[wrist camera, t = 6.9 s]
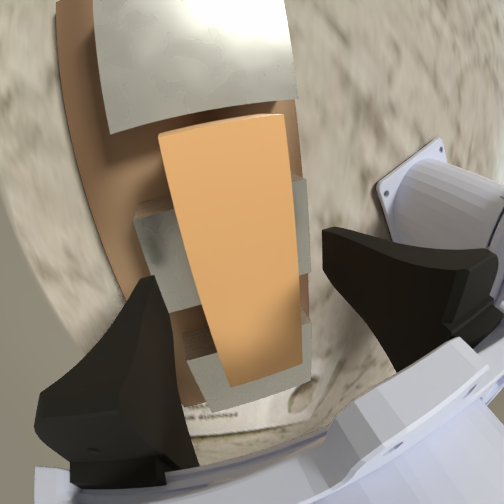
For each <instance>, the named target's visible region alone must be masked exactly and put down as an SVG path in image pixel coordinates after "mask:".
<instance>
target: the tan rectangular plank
mask: <svg viewBox="0 0 504 504" xmlns="http://www.w3.org/2000/svg"><path fill="white" fill-rule="evenodd" d="M158 140H159V145H160V150H161V154H162V159H163V163H164V167H165V172H166V176H167V180H168V185H169V189H170V193H171V197H172V201H173V205H174V209H175V213H176V217H177V220H178V224H179V228H180V232H181V235H182V239H183V243H184V246H185V250H186V253H187V257H188V260H189V264H190V267H191V271H192V274H193V277H194V281H195V284H196V287H197V291H198V294H199V297H200V300H201V304H202V307H203V310H204V313H205V316H206V319H207V322H208V325H209V328H210V331H211V334H212V337H213V340H214V343H215V346H216V349H217V352H218V355H219V358H220V361H221V363H222V366H223V369H224V372H225V375H226V377H227V380H228V383H229V385H230V388H232V387H235V386H239V385H242V384H245V383H248V382H251V381H255V380H258V379H261V378H264V377H267V376H270V375H273V374H275V373H278V372H281V371H284V370H287V369H289V368H292V367H295V366H297V365H300V364H303V357H302V327H301V304H300V285H299V269H298V254H297V240H296V227H295V215H294V203H293V192H292V182H291V172H290V163H289V153H288V144H287V136H286V128H285V119H284V114H254V115H247V116H241V117H235V118H229V119H223V120H218V121H212V122H207V123H202V124H197V125H193V126H188V127H184V128H180V129H175V130H171V131H167V132H163V133H159V136H158Z"/></svg>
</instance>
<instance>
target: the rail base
mask: <svg viewBox="0 0 504 504" xmlns="http://www.w3.org/2000/svg"><path fill="white" fill-rule="evenodd" d="M56 32H57V48H58V60H59V69H60V78H61V85H62V92H63V98H64V104H65V110H66V116H67V121H68V126H69V131H70V135H71V140H72V144H73V149H74V153H75V157H76V161H77V165H78V168H79V172H80V176H81V179H82V183H83V186H84V190H85V193H86V196H87V200H88V203H89V206H90V209H91V212H92V215H93V218H94V221H95V224H96V227H97V230H98V233H99V235H100V238H101V241H102V244H103V246H104V249H105V251H106V254H107V257H108V259H109V262H110V264H111V267H112V269H113V272H114V274H115V276H116V279H117V281H118V283H119V286H120V288H121V290H122V292H123V295H124V297H125V299H126V301H127V300H128V298H129V297H130V295H131V293H132V291H133V290H134V288H135V286H136V284H137V283H138V281H139V280H140V278H144V277H148V276H151V273H150V271H149V268H148V265H147V262H146V259H145V256H144V254H143V251H142V248H141V245H140V242H139V239H138V236H137V232H136V229H135V226H134V223H133V218H134V213H135V209H136V206H137V203H141V202H144V201H148V200H152V199H155V198H159V197H163V196H166V195H170V194H171V193H170V189H169V185H168V180H167V176H166V172H165V167H164V163H163V159H162V154H161V150H160V145H159V140H158V136H159V133H163V132H167V131H171V130H175V129H180V128H184V127H188V126H193V125H197V124H202V123H207V122H212V121H218V120H223V119H229V118H235V117H241V116H247V115H254V114H284V119H285V128H286V136H287V144H288V153H289V163H290V172H292V173H294V174H296V175H299V176H301V177H302V165H301V154H300V144H299V134H298V124H297V115H296V106H295V99H291V100H279V101H269V102H260V103H251V104H244V105H237V106H230V107H224V108H218V109H212V110H206V111H201V112H196V113H191V114H186V115H181V116H177V117H172V118H168V119H164V120H160V121H156V122H152V123H148V124H144V125H141V126H137V127H134V128H130V129H127V130H123V131H120V132H117V133H114V134H110V131H109V126H108V121H107V116H106V111H105V105H104V99H103V94H102V87H101V81H100V74H99V67H98V59H97V51H96V41H95V30H94V17H93V0H60V1H58V2H56ZM299 285H300V304H301V308H302V309H303V311H304V312H305V314H306V315H307V316H308V318H309V295H308V273H306V274H303V275H300V276H299ZM169 315H170V321H171V326H172V331H173V340H174V355H175V368H176V379H177V386H178V392H179V396H180V401H181V403H182V404H183V406H184V407H188V406H192V405H196V404H200V403H204V402H206V400H205V398H204V396H203V394H202V392H201V390H200V388H199V386H198V384H197V382H196V380H195V378H194V376H193V374H192V372H191V370H190V367H189V365H188V363H187V361H186V356H185V350H184V344H183V338H182V333H185V332H189V331H193V330H196V329H200V328H204V327H207V326H209V325H208V322H207V319H206V316H205V313H204V310H203V307H202V304H201V305H197V306H194V307H190V308H186V309H183V310H179V311H175V312H171V313H169Z"/></svg>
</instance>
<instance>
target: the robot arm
mask: <svg viewBox="0 0 504 504" xmlns="http://www.w3.org/2000/svg"><path fill="white" fill-rule="evenodd" d="M376 190H377V193H378V196H379V199H380V202H381V205H382V208H383V211H384V214H385V217H386V221H387V224H388V227H389V231H390V234H391V238H392V241H393V242H392V241H388V240H384V239H380V238H376V237H373V236H369V235H366V234H362V233H359V232H355V231H352V230H348V229H344V228H339V227H331V228H327V229H324V230H322V259H323V271H324V273H325V274H326V276H327V277H328V279H329V280H330V282H331V283H332V285H333V286H334V287H335V288H336V290H337V291H338V292H339V293H340V294H341V295H342V296H343V297H344V299H345V300H346V301H347V302H348V303H349V304H350V305H351V306H352V307H353V308H354V310H355V311H356V312H357V313H358V314H359V315H360V316H361V317H362V319H363V320H364V321H365V322H366V323H367V325H368V326H369V328H370V329H371V331H372V332H373V333H374V335H375V336H376V338H377V339H378V341H379V343H380V344H381V346H382V347H383V349H384V351H385V352H386V354H387V356H388V358H389V359H390V361H391V363H392V365H393V367H394V369H395V370H396V372H397V373H396V374H394V375H392V376H391V377H389V378H387V379H385V380H383V381H382V382H380V383H378V384H376V385H374V386H372V387H371V388H369V389H368V390H366V391H365V392H363V393H362V394H360V395H358V396H357V397H355V398H354V399H352V400H351V401H350V402H349V403H348V404H347V405H346V406H344V407H343V408H342V409H341V410H340V411H339V412H338V413H337V414H336V415H335V417H334V418H333V420H332V422H331V423H330V425H328V426H326V427H323V428H321V429H319V430H316V431H314V432H311V433H309V434H306V435H304V436H301V437H299V438H296V439H293V440H291V441H288V442H285V443H282V444H280V445H277V446H274V447H271V448H268V449H265V450H261V451H258V452H255V453H252V454H248V455H245V456H241V457H237V458H234V459H230V460H226V461H222V462H218V463H213V464H209V465H204V466H199V463H198V460H197V457H196V454H195V451H194V448H193V445H192V442H191V438H190V435H189V432H188V428H187V425H186V421H185V417H184V413H183V409H182V405H181V401H180V396H179V392H178V386H177V379H176V368H175V355H174V340H173V331H172V326H171V321H170V315H169V312H168V310H167V307H166V305H165V302H164V299H163V297H162V294H161V291H160V289H159V286H158V283H157V281H156V278H155V275H151V276H148V277H144V278H140V280H139V281H138V283H137V284H136V286H135V288H134V290H133V291H132V293H131V295H130V297H129V298H128V300H127V302H126V303H125V305H124V307H123V308H122V310H121V311H120V313H119V314H118V316H117V317H116V319H115V321H114V322H113V324H112V325H111V326H110V328H109V329H108V330H107V332H106V333H105V334H104V336H103V337H102V338H101V339H100V341H99V342H98V343H97V344H96V345H95V346H94V347H93V348H92V349H91V350H90V352H89V353H88V354H87V355H86V356H85V357H84V358H83V359H82V360H81V361H80V362H79V363H78V364H77V365H76V366H75V367H73V368H72V369H71V370H70V371H69V372H68V373H66V374H65V375H64V376H63V377H62V378H60V379H59V380H58V381H56V382H55V383H54V384H52V385H51V386H49V387H48V388H47V389H45V390H44V391H42V392H41V393H40V396H39V401H38V406H37V412H36V418H35V423H34V429H35V432H36V434H37V435H38V437H39V438H40V439H41V440H42V441H43V442H44V443H45V444H46V445H47V446H49V447H50V448H51V449H52V450H54V451H55V452H57V453H58V454H59V455H61V456H62V457H64V458H65V459H66V460H68V461H69V462H70V470H67V469H64V468H59V467H44V466H36V467H35V487H34V488H35V489H34V502H35V503H34V504H504V426H503V424H502V423H501V422H500V421H499V420H498V418H497V417H496V416H495V415H494V414H493V413H492V411H491V410H490V409H489V408H488V407H487V405H488V404H489V403H490V402H491V401H492V400H493V398H494V397H495V396H496V395H497V394H498V393H499V392H500V391H501V389H502V388H503V387H504V185H503V184H500V183H498V182H496V181H493V180H491V179H488V178H486V177H484V176H481V175H478V174H476V173H473V172H471V171H468V170H465V169H463V168H460V167H457V166H454V165H451V164H448V163H447V159H446V154H445V150H444V145H443V141H442V139H441V138H435V139H433V140H432V141H431V142H430V143H428V144H427V145H426V146H424V147H423V148H422V149H421V150H419V151H418V152H417V153H415V154H414V155H413V156H412V157H410V158H409V159H408V160H406V161H405V162H404V163H402V164H401V165H400V166H398V167H397V168H396V169H395V170H393V171H392V172H391V173H389V174H388V175H387V176H385V177H384V178H383V179H381V180H380V181H379V182H378V183H377V186H376ZM385 191H386V192H385ZM384 192H385V195H384Z"/></svg>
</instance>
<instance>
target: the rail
mask: <svg viewBox="0 0 504 504" xmlns="http://www.w3.org/2000/svg"><path fill="white" fill-rule="evenodd" d="M93 17H94V30H95V41H96V51H97V59H98V67H99V74H100V81H101V87H102V94H103V99H104V105H105V111H106V116H107V121H108V126H109V131H110V134H114V133H117V132H120V131H123V130H127V129H130V128H134V127H137V126H141V125H144V124H148V123H152V122H156V121H160V120H164V119H168V118H172V117H177V116H181V115H186V114H191V113H196V112H201V111H206V110H212V109H218V108H224V107H230V106H237V105H244V104H251V103H260V102H269V101H279V100H291V99H298V92H297V84H296V76H295V69H294V62H293V55H292V48H291V42H290V36H289V30H288V24H287V18H286V13H285V7H284V2H283V0H93ZM291 182H292V192H293V203H294V215H295V227H296V240H297V254H298V269H299V276H300V275H303V274H306V273H309V272H311V260H310V234H309V215H308V198H307V184H306V179H305V178H303V177H301V176H299V175H296V174H294V173H292V172H291ZM133 223H134V226H135V229H136V232H137V236H138V239H139V242H140V245H141V248H142V251H143V254H144V256H145V259H146V262H147V265H148V268H149V271H150V273H151V275H155V278H156V281H157V283H158V286H159V289H160V291H161V294H162V297H163V299H164V302H165V305H166V307H167V310H168V312H169V313H171V312H175V311H179V310H183V309H186V308H190V307H194V306H197V305H201V300H200V297H199V294H198V291H197V287H196V284H195V281H194V277H193V274H192V271H191V267H190V264H189V260H188V257H187V253H186V250H185V246H184V243H183V239H182V235H181V232H180V228H179V224H178V220H177V217H176V213H175V209H174V205H173V201H172V197H171V194H170V195H166V196H163V197H159V198H155V199H152V200H148V201H144V202H141V203H137V206H136V209H135V213H134V218H133ZM301 327H302V357H303V364H300V365H297V366H295V367H292V368H289V369H287V370H284V371H281V372H278V373H275V374H273V375H270V376H267V377H264V378H261V379H258V380H255V381H251V382H248V383H245V384H242V385H239V386H235V387H232V388H230V385H229V383H228V380H227V377H226V375H225V372H224V369H223V366H222V363H221V361H220V358H219V355H218V352H217V349H216V346H215V343H214V340H213V337H212V334H211V331H210V328H209V326H207V327H204V328H200V329H196V330H193V331H189V332H185V333H182V338H183V344H184V350H185V356H186V361H187V363H188V365H189V367H190V370H191V372H192V374H193V376H194V378H195V380H196V382H197V384H198V386H199V388H200V390H201V392H202V394H203V396H204V398H205V400H206V402H207V404H208V406H209V408H210V410H211V411H212V413H214V412H217V411H221V410H225V409H228V408H232V407H235V406H239V405H242V404H245V403H249V402H252V401H255V400H258V399H261V398H264V397H267V396H270V395H273V394H276V393H279V392H282V391H285V390H287V389H290V388H293V387H295V386H298V385H301V384H303V383H306V382H308V381H311V338H312V322H311V321H310V319H309V318H308V316H307V315H306V314H305V312H304V311H303V309H302V308H301Z"/></svg>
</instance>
